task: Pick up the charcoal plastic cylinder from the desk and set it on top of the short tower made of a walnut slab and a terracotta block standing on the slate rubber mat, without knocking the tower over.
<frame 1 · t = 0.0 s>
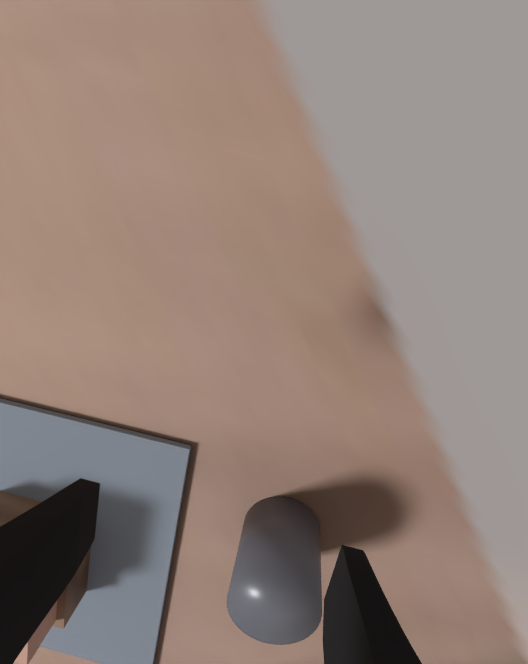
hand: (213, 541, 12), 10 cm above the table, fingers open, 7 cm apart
tower base: (44, 542, 25), resting on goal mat, touching tower middle
tower middle: (16, 576, 23), point 3 cm above the table, touching tower base
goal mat: (48, 537, 26), on the table
cylinder: (281, 528, 24), on the table
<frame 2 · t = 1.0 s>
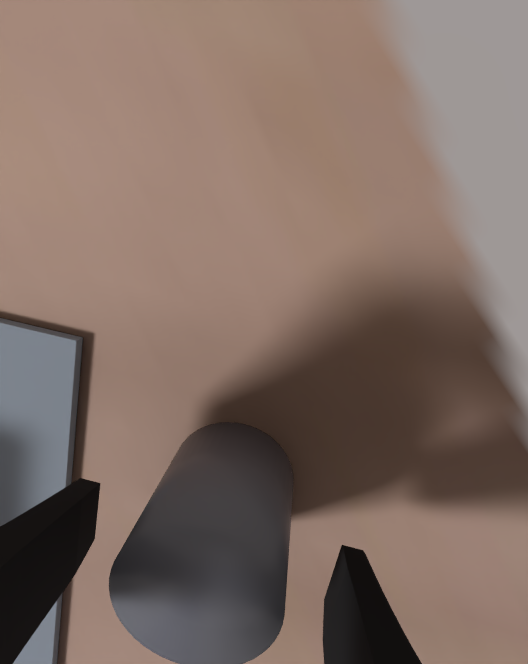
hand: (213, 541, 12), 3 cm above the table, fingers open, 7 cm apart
cylinder: (232, 477, 15), on the table
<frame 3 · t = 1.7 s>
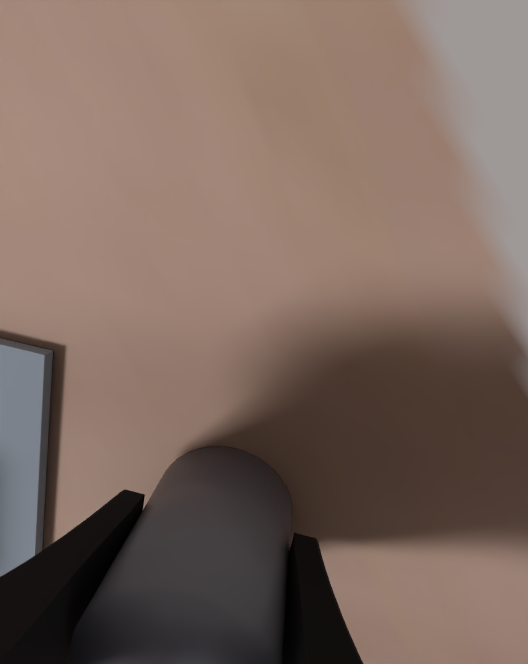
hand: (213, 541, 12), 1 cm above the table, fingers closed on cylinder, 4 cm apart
cylinder: (223, 507, 13), on the table, touching gripper
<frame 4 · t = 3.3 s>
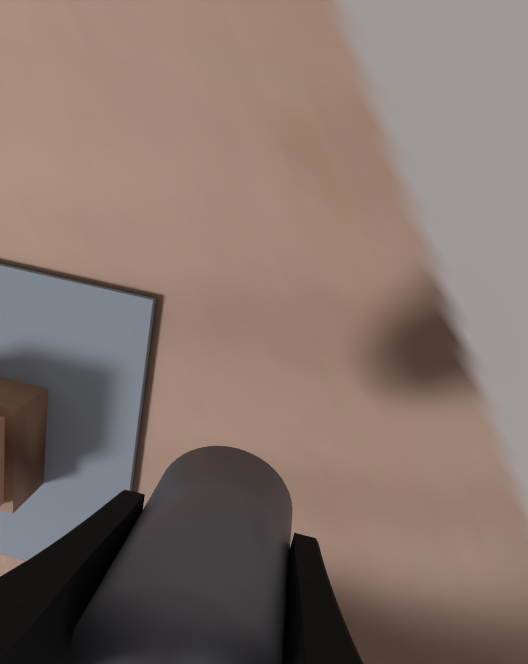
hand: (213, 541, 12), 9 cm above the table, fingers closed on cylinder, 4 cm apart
cylinder: (223, 506, 13), point 8 cm above the table, touching gripper
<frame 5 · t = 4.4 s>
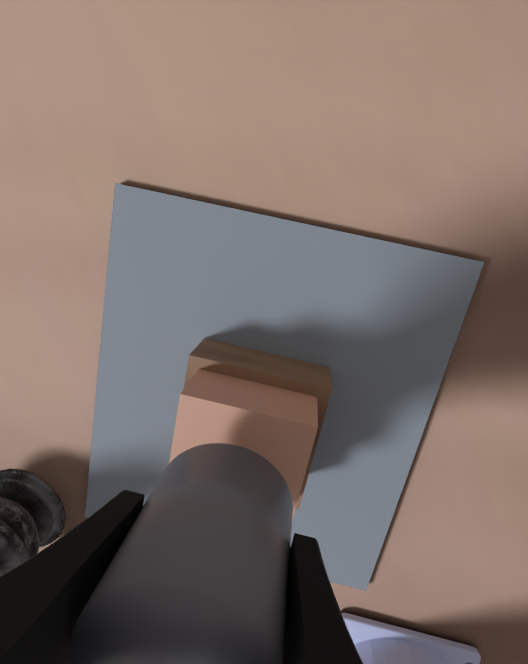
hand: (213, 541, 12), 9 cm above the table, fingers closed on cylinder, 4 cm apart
tower base: (254, 409, 20), resting on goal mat, touching tower middle
salt shaker: (24, 506, 24), on the table
tower middle: (246, 435, 17), point 3 cm above the table, touching tower base
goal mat: (255, 405, 20), on the table
cylinder: (224, 504, 13), point 7 cm above the table, touching gripper
when the fingers open (7 cm above the table, at t = 5.1 s): cylinder stays where it is, resting on tower middle.
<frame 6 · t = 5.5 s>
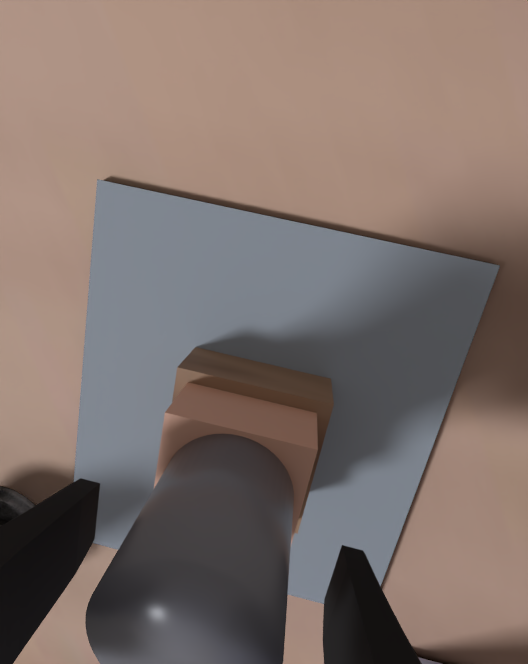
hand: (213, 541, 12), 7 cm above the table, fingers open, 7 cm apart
tower base: (249, 423, 18), resting on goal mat, touching tower middle
salt shaker: (6, 524, 23), on the table
tower middle: (239, 454, 16), point 3 cm above the table, touching cylinder, tower base
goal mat: (250, 419, 19), on the table
cylinder: (228, 492, 14), point 5 cm above the table, touching tower middle
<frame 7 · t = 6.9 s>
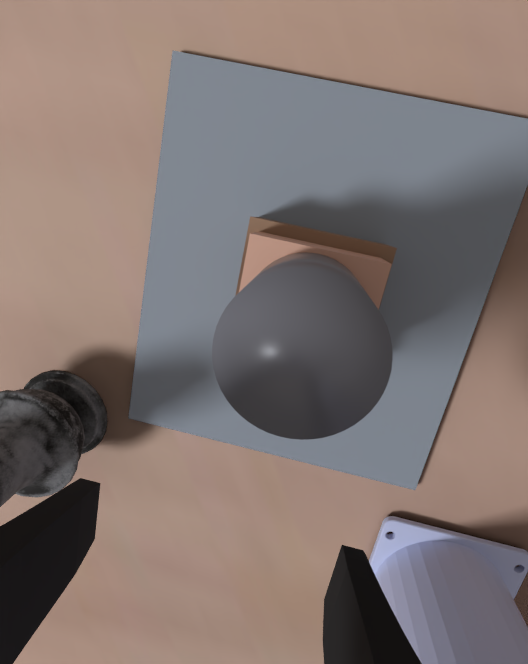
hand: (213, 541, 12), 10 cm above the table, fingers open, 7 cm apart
tower base: (306, 293, 20), resting on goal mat, touching tower middle
salt shaker: (65, 412, 24), on the table
tower middle: (305, 303, 17), point 3 cm above the table, touching cylinder, tower base
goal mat: (306, 292, 20), on the table
cylinder: (304, 314, 15), point 5 cm above the table, touching tower middle
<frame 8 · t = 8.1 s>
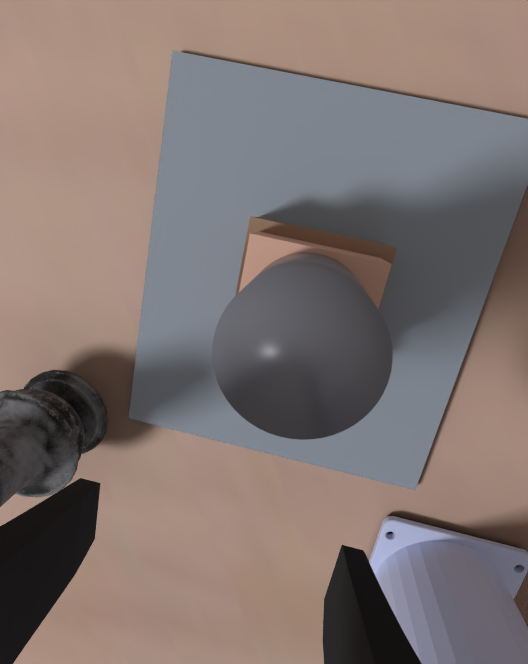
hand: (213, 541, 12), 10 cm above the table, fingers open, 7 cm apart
tower base: (306, 293, 20), resting on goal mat, touching tower middle
salt shaker: (65, 412, 24), on the table
tower middle: (305, 303, 17), point 3 cm above the table, touching cylinder, tower base
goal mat: (306, 292, 20), on the table
cylinder: (304, 314, 15), point 5 cm above the table, touching tower middle
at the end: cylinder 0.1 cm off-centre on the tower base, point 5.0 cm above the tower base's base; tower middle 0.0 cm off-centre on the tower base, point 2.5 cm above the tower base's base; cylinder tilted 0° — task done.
